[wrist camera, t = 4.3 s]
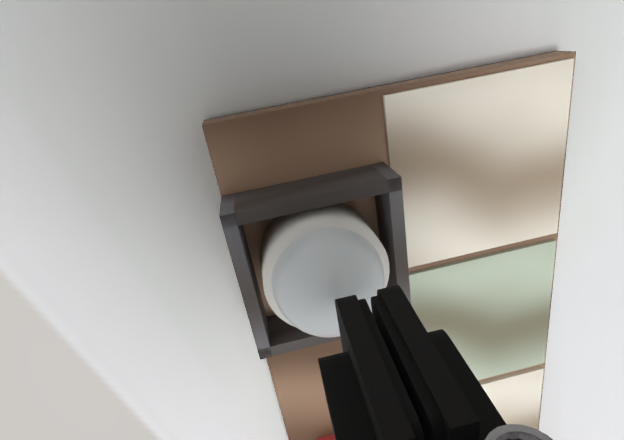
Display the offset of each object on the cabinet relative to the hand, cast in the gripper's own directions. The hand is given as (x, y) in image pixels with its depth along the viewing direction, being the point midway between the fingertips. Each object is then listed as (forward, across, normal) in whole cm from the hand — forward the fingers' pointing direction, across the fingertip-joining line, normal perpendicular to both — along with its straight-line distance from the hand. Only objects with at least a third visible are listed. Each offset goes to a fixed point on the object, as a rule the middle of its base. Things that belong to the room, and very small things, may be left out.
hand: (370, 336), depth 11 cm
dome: (+7, 0, +1) cm, 7 cm away
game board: (+8, -4, +8) cm, 11 cm away
